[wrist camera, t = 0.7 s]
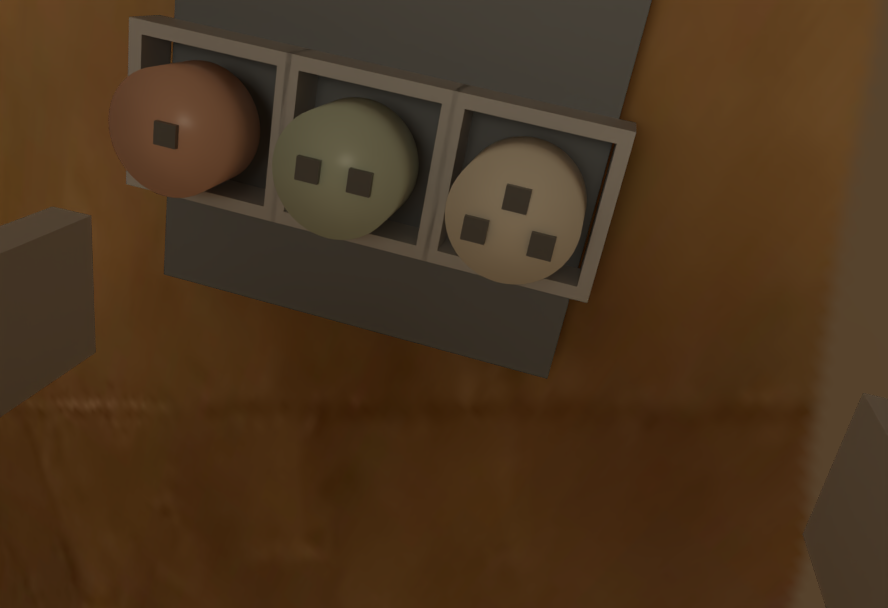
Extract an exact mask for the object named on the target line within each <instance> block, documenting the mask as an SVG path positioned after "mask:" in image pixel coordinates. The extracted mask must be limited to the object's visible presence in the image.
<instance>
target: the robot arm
mask: <svg viewBox="0 0 888 608" xmlns="http://www.w3.org/2000/svg"><path fill="white" fill-rule="evenodd" d="M94 353H96V349H95V318H94V287H93V256H92V225H91V215H87V214H83V213H78V212H74V211H70V210H65V209H61V208H56V207H50V208H47V209H45V210H42V211H39V212H37V213H34V214H31V215H29V216H26V217H23V218H21V219H18V220H15V221H13V222H10V223H7V224H5V225H2V226H0V417H1V416H3V415H4V414H6V413H7V412H9V411H10V410H12V409H13V408H15V407H16V406H17V405H19V404H20V403H22V402H23V401H25V400H26V399H28V398H29V397H31V396H32V395H34V394H35V393H37V392H38V391H40V390H41V389H43V388H44V387H45V386H47V385H48V384H50V383H51V382H53V381H54V380H56V379H57V378H59V377H60V376H62V375H63V374H65V373H66V372H68V371H69V370H71V369H72V368H73V367H75V366H76V365H78V364H79V363H81V362H82V361H84V360H85V359H87V358H88V357H90V356H91V355H93V354H94ZM803 537H804V540H805V543H806V546H807V550H808V553H809V556H810V559H811V562H812V565H813V568H814V572H815V575H816V578H817V581H818V584H819V588H820V590H821V594H822V597H823V600H824V603H825V607H826V608H888V399H887V398H883V397H878V396H874V395H870V394H866V393H863V394H862V397H861V399H860V401H859V403H858V406H857V408H856V410H855V413H854V415H853V418H852V420H851V422H850V425H849V427H848V429H847V432H846V434H845V436H844V439H843V441H842V443H841V446H840V448H839V450H838V453H837V455H836V457H835V460H834V462H833V464H832V467H831V469H830V471H829V474H828V476H827V479H826V481H825V483H824V486H823V488H822V490H821V493H820V495H819V497H818V500H817V502H816V504H815V507H814V509H813V511H812V514H811V516H810V518H809V521H808V523H807V525H806V528H805V530H804V532H803Z"/></svg>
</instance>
